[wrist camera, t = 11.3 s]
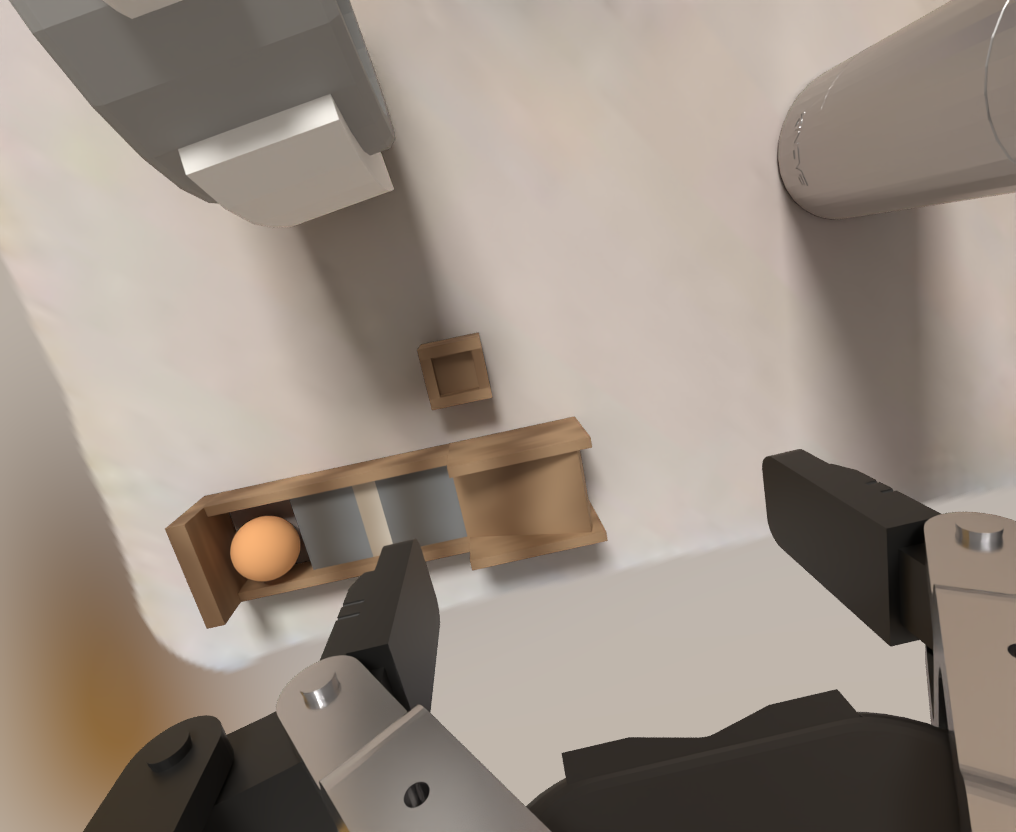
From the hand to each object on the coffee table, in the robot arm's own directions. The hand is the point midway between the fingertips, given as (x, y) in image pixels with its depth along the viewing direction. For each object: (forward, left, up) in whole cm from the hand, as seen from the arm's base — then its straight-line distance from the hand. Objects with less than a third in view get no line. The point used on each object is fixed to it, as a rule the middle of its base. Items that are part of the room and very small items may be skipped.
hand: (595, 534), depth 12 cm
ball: (+19, +9, -23) cm, 31 cm away
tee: (+4, 0, -25) cm, 26 cm away
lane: (+10, +9, -25) cm, 28 cm away
